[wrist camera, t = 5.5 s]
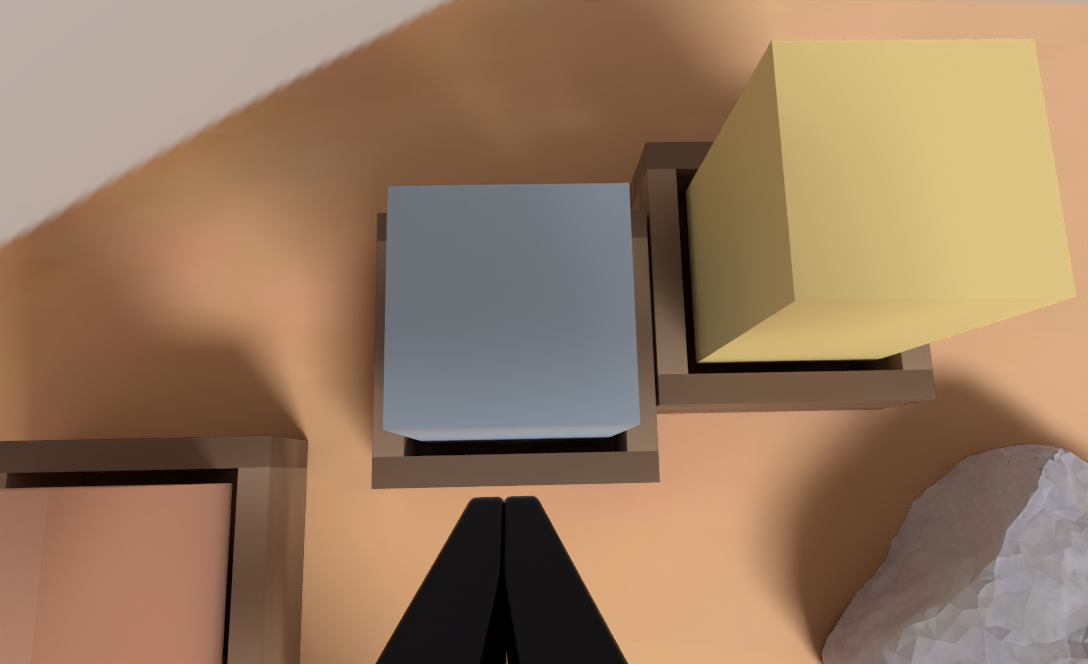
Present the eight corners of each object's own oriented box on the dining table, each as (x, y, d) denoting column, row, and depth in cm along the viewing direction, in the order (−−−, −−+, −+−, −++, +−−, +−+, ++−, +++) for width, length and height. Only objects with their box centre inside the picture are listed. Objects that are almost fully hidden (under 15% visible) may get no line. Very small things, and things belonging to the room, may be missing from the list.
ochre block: (875, 360, 20) (1077, 296, 13) (696, 363, 20) (795, 300, 13) (857, 189, 21) (1034, 39, 14) (685, 191, 21) (771, 40, 14)
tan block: (220, 687, 18) (12, 834, 11) (16, 693, 18) (-333, 846, 11) (232, 483, 19) (48, 490, 12) (38, 487, 19) (-270, 497, 12)
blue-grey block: (601, 440, 22) (640, 424, 14) (431, 444, 21) (382, 429, 14) (595, 277, 23) (629, 183, 15) (433, 279, 22) (387, 186, 15)
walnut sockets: (908, 686, 21) (976, 724, 18) (30, 713, 20) (-61, 758, 17) (854, 183, 24) (904, 139, 21) (83, 192, 23) (14, 148, 20)
